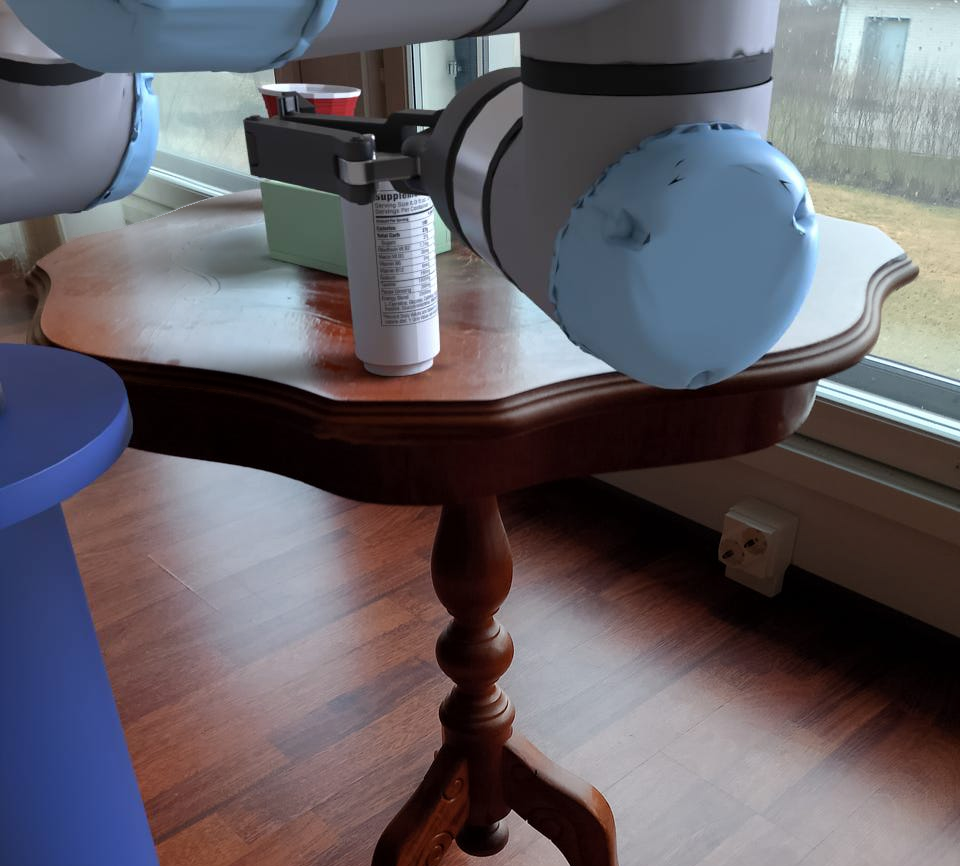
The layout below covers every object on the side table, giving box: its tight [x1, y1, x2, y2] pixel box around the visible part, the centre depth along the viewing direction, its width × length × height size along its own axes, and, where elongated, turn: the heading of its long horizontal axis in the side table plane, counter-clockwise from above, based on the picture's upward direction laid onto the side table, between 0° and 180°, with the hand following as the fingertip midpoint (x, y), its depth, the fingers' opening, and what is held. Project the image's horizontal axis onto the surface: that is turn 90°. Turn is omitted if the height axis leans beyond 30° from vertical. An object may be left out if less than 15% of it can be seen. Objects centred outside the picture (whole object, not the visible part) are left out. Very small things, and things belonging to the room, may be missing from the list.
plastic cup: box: [257, 83, 362, 118], centre depth 116 cm, size 11×11×12 cm
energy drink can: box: [341, 131, 441, 377], centre depth 72 cm, size 6×6×15 cm
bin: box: [259, 179, 452, 278], centre depth 100 cm, size 12×12×7 cm
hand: (412, 109), depth 60 cm, fingers open, 13 cm apart
